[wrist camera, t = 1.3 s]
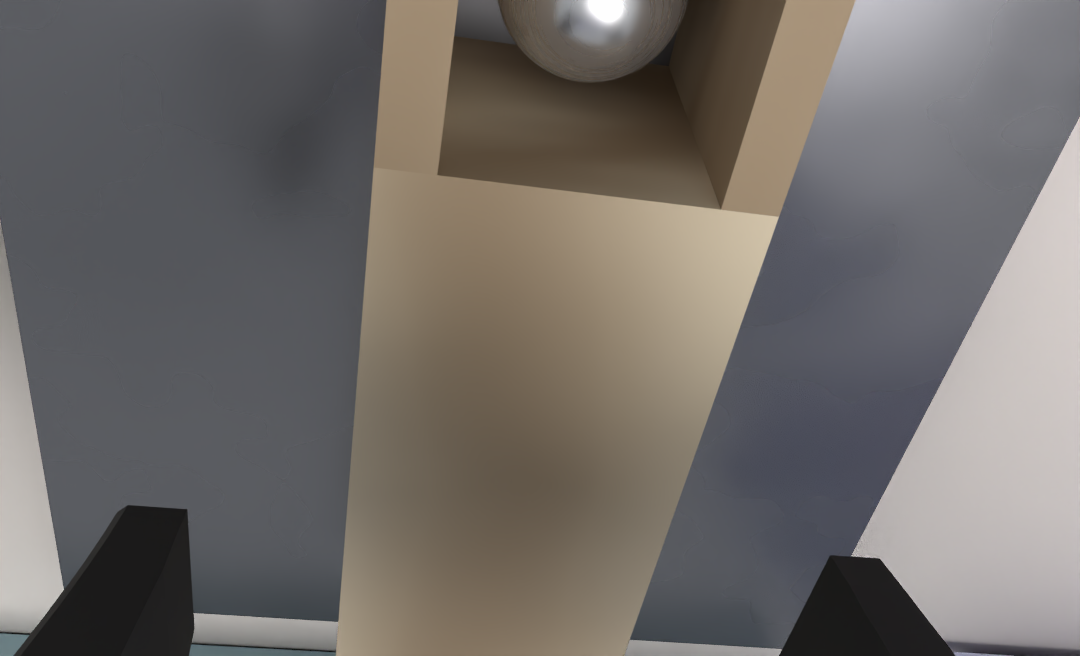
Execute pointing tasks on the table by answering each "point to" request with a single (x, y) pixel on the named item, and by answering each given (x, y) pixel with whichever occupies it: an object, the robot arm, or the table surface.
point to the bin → (7, 645)
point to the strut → (554, 317)
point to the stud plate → (341, 252)
